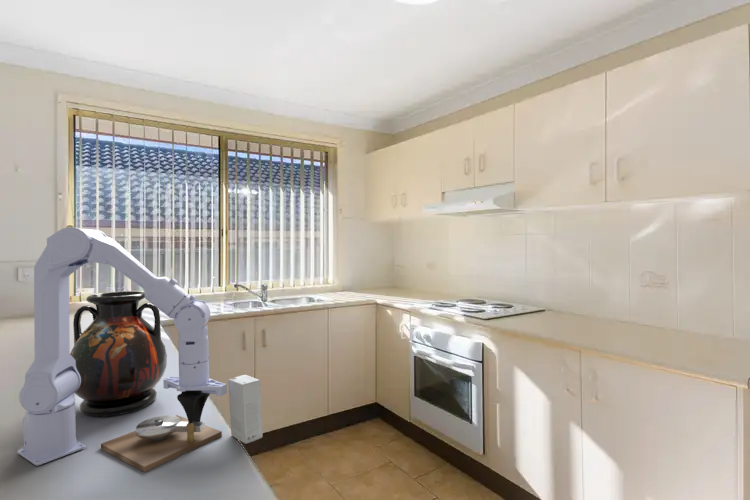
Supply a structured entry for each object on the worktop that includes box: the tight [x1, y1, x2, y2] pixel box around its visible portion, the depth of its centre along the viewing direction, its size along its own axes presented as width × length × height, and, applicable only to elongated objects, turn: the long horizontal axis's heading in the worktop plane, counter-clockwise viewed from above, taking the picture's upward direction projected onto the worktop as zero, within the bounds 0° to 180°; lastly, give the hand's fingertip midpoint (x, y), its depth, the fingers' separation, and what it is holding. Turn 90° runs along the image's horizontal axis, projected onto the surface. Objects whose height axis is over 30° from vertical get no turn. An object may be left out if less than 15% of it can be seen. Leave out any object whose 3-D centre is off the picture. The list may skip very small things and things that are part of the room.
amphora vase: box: [70, 290, 168, 418], centre depth 104 cm, size 22×22×28 cm
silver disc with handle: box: [135, 414, 206, 439], centre depth 84 cm, size 13×8×2 cm, turn 87°
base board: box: [100, 414, 223, 473], centre depth 84 cm, size 16×16×4 cm
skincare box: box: [227, 374, 264, 444], centre depth 86 cm, size 6×4×12 cm
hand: (195, 425), depth 86 cm, fingers closed, pressing on silver disc with handle
